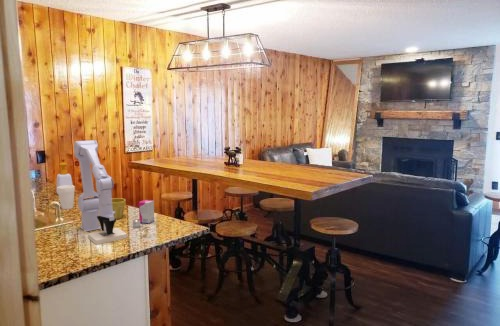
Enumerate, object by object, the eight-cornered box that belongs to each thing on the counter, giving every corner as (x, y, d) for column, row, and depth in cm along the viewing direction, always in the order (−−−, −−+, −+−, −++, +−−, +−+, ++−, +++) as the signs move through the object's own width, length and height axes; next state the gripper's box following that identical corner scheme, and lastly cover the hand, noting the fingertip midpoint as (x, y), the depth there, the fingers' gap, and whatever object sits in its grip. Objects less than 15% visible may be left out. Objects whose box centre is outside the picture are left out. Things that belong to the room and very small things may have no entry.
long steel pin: (102, 237, 178) (101, 221, 177) (109, 235, 181) (109, 219, 180) (106, 239, 176) (106, 222, 175) (114, 237, 179) (113, 220, 178)
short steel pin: (131, 226, 195) (131, 220, 194) (138, 225, 197) (138, 218, 197) (134, 228, 192) (134, 221, 192) (141, 227, 194) (141, 220, 194)
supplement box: (154, 221, 205) (154, 200, 203) (149, 224, 199) (148, 202, 197) (145, 220, 206) (144, 199, 204) (139, 223, 200) (138, 202, 199)
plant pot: (130, 216, 213) (129, 199, 212) (116, 221, 204) (115, 203, 203) (116, 213, 218) (116, 197, 217) (102, 218, 209) (101, 200, 207)
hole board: (87, 237, 178) (87, 233, 178) (117, 231, 187) (117, 227, 187) (96, 244, 169) (96, 240, 169) (127, 237, 178) (127, 233, 178)
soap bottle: (69, 190, 276) (66, 160, 273) (74, 194, 266) (72, 162, 262) (54, 192, 270) (52, 161, 267) (59, 196, 260) (57, 163, 256)
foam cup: (69, 210, 225) (68, 188, 223) (55, 209, 226) (53, 188, 224) (79, 206, 234) (77, 185, 232) (65, 205, 235) (63, 184, 234)
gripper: (120, 205, 173) (121, 234, 175) (108, 199, 184) (109, 226, 186) (104, 208, 168) (106, 237, 170) (93, 201, 179) (95, 229, 181)
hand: (107, 232), depth 178 cm, fingers open, 6 cm apart
